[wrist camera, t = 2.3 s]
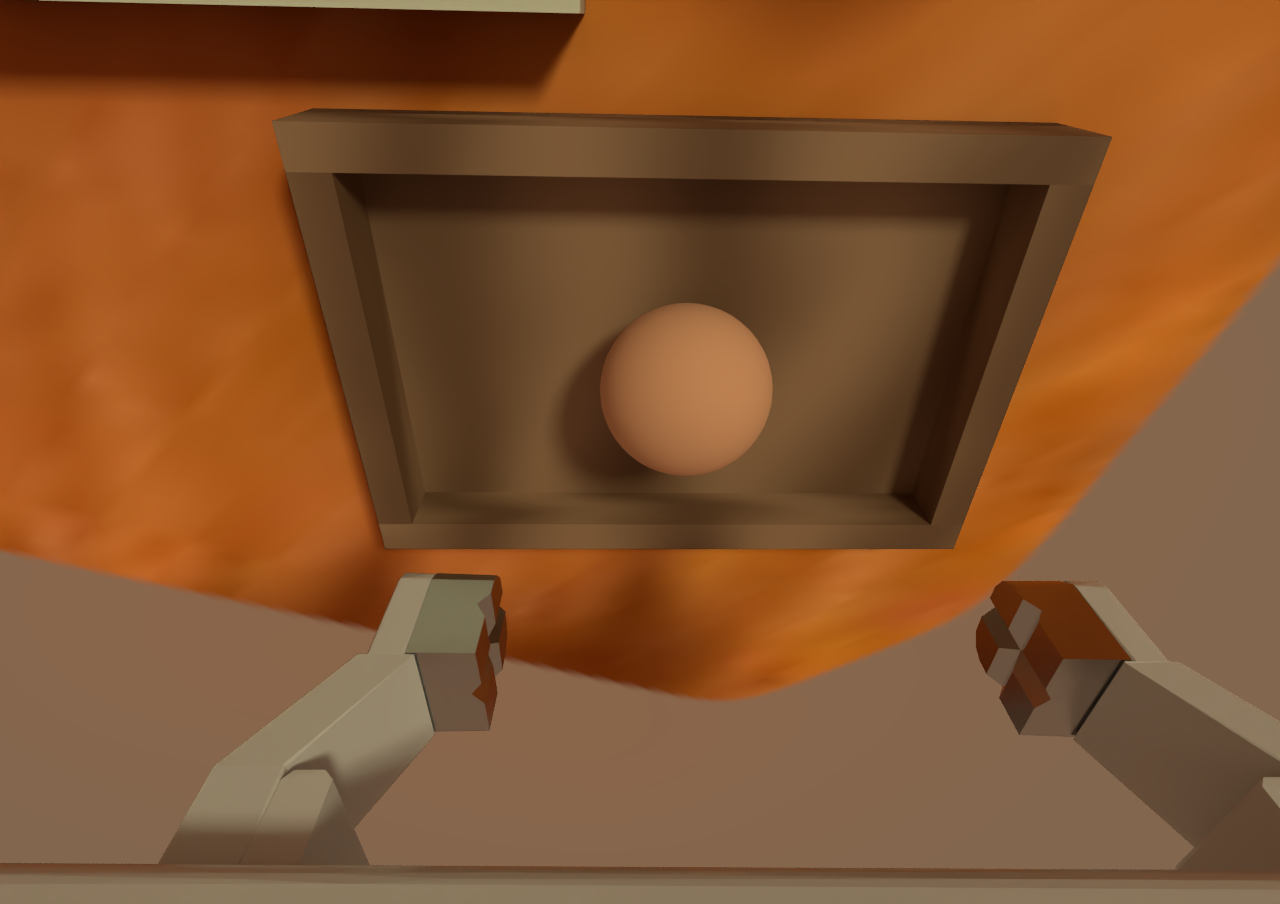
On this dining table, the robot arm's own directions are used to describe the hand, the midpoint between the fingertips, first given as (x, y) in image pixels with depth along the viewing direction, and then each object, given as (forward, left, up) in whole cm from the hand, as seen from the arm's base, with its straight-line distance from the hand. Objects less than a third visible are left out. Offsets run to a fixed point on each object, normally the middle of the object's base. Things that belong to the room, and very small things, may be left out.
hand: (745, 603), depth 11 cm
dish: (0, 0, -10) cm, 10 cm away
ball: (0, 0, -7) cm, 7 cm away
